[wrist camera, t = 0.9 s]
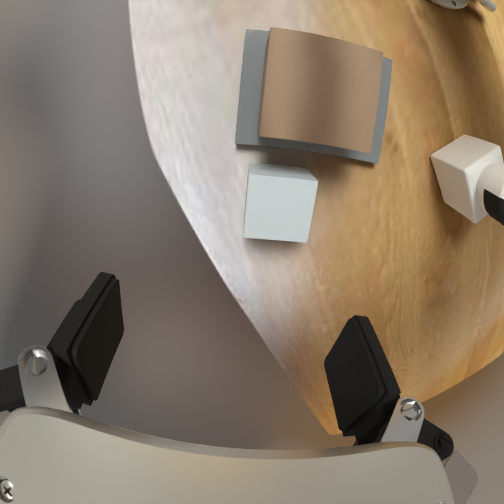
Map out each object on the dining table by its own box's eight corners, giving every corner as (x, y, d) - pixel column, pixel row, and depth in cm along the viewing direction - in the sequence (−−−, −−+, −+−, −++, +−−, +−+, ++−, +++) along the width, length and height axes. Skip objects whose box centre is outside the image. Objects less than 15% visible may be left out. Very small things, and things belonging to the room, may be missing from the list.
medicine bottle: (475, 179, 27) (535, 214, 17) (443, 202, 29) (501, 246, 19) (463, 133, 24) (531, 157, 14) (428, 154, 26) (496, 187, 16)
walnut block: (356, 61, 21) (382, 52, 15) (346, 143, 25) (370, 153, 20) (266, 44, 20) (270, 27, 15) (257, 130, 25) (259, 136, 19)
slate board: (387, 61, 21) (392, 59, 20) (373, 161, 27) (377, 163, 26) (246, 32, 20) (246, 29, 19) (235, 142, 26) (235, 143, 25)
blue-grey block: (306, 167, 28) (318, 181, 23) (297, 219, 31) (306, 242, 26) (249, 162, 27) (249, 174, 23) (244, 215, 30) (243, 237, 26)
